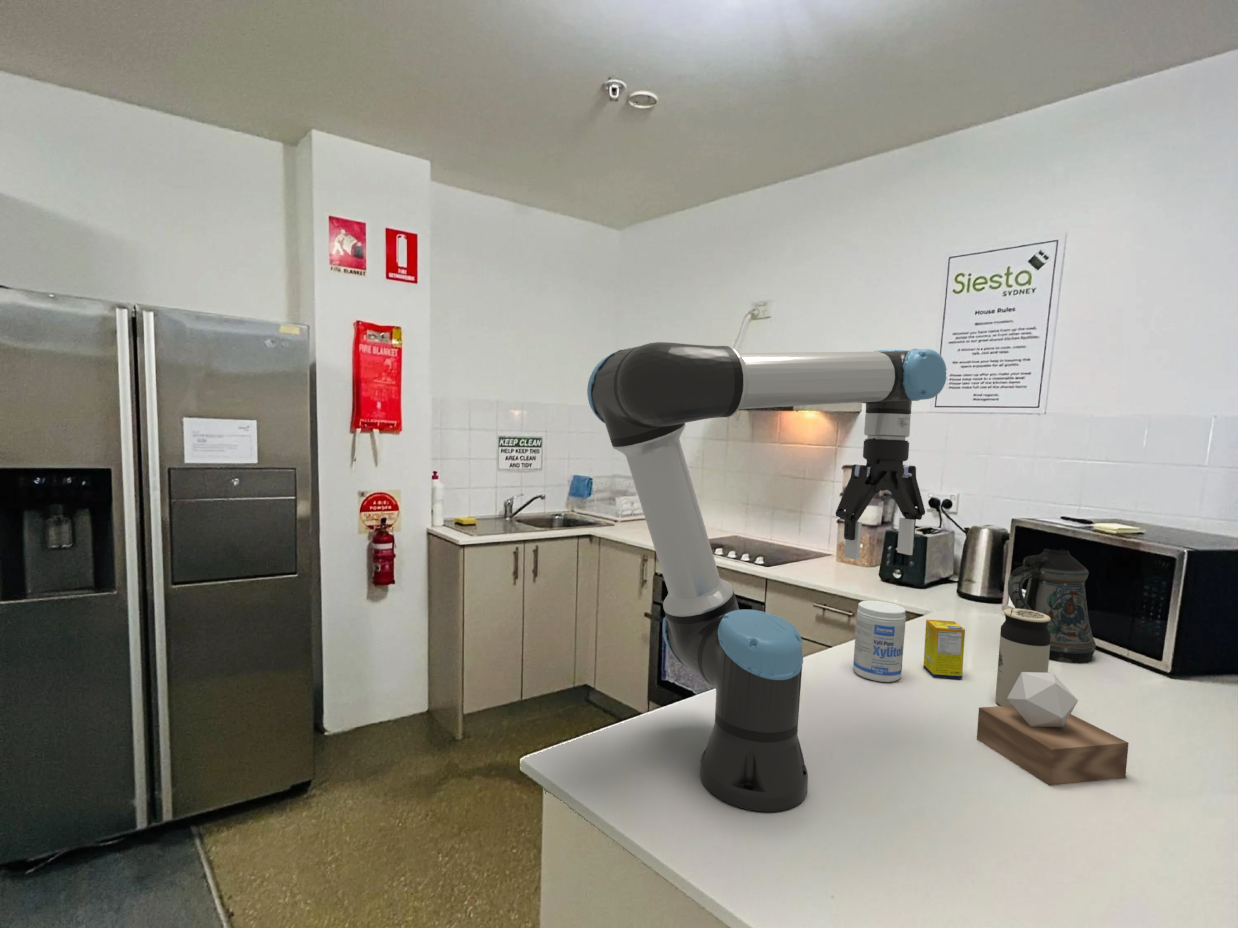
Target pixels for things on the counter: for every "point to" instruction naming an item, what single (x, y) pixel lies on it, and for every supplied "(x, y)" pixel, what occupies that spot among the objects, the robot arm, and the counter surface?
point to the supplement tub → (879, 641)
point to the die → (1042, 699)
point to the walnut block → (1053, 747)
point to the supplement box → (944, 649)
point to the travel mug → (1021, 649)
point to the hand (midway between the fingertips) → (878, 556)
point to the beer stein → (1057, 601)
